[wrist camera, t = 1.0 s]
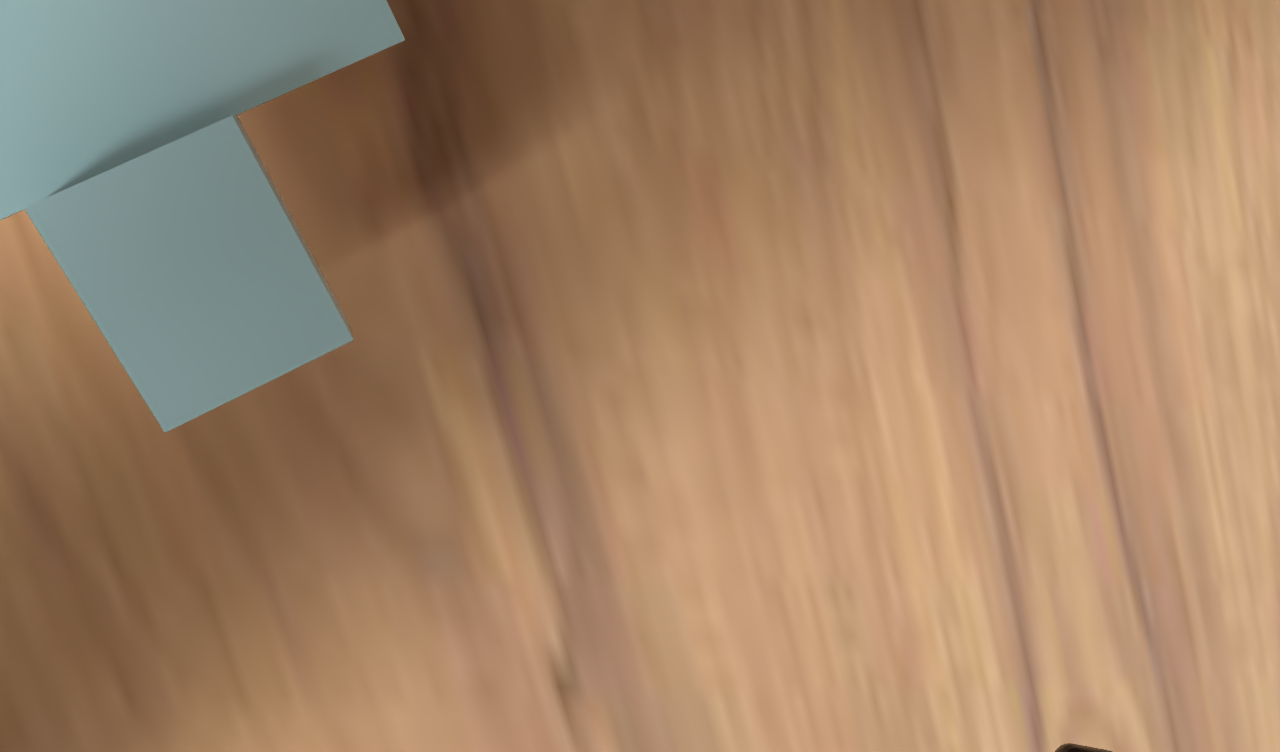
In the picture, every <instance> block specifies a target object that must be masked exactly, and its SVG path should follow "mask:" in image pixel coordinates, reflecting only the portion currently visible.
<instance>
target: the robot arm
mask: <svg viewBox="0 0 1280 752" xmlns="http://www.w3.org/2000/svg"><path fill="white" fill-rule="evenodd" d="M1055 752H1112V751H1108V750H1103V749H1098V748H1093V747H1087V746H1082V745H1077V744H1071V743H1070V744H1063V745H1061V746H1060V747H1059V748H1057V750H1056V751H1055Z"/></svg>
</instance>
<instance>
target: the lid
mask: <svg viewBox="0 0 1280 752" xmlns="http://www.w3.org/2000/svg"><path fill="white" fill-rule="evenodd" d="M404 40H405V38H404V36H403V34H402V32H401V30H400V28H399V26H398V23H397V21H396V19H395V17H394V15H393V13H392V11H391V9H390V7H389V5H388V2H387V0H0V220H2V219H4V218H7V217H9V216H11V215H13V214H16V213H18V212H20V211H22V210H25V211H26V212H27V214H28V216H29V217H30V219H31V220H32V222H33V224H34V225H35V227H36V228H37V230H38V232H39V233H40V235H41V236H42V238H43V240H44V241H45V243H46V244H47V246H48V248H49V249H50V251H51V252H52V254H53V256H54V257H55V259H56V260H57V262H58V263H59V265H60V267H61V268H62V270H63V271H64V273H65V275H66V276H67V278H68V279H69V281H70V283H71V284H72V286H73V287H74V289H75V291H76V292H77V294H78V295H79V297H80V299H81V300H82V302H83V303H84V305H85V307H86V308H87V310H88V311H89V313H90V315H91V316H92V318H93V319H94V321H95V322H96V324H97V326H98V327H99V329H100V330H101V332H102V334H103V335H104V337H105V338H106V340H107V342H108V343H109V345H110V346H111V348H112V350H113V351H114V353H115V354H116V356H117V358H118V359H119V361H120V362H121V364H122V366H123V367H124V369H125V370H126V372H127V373H128V375H129V377H130V378H131V380H132V381H133V383H134V385H135V386H136V388H137V389H138V391H139V393H140V394H141V396H142V397H143V399H144V401H145V402H146V404H147V405H148V407H149V409H150V410H151V412H152V413H153V415H154V417H155V418H156V420H157V421H158V423H159V425H160V426H161V428H162V429H163V431H164V432H165V433H166V432H168V431H170V430H172V429H174V428H176V427H178V426H180V425H182V424H184V423H186V422H188V421H190V420H192V419H194V418H196V417H198V416H200V415H202V414H204V413H206V412H209V411H211V410H213V409H215V408H217V407H219V406H221V405H223V404H225V403H227V402H229V401H231V400H233V399H235V398H237V397H239V396H241V395H243V394H245V393H247V392H249V391H251V390H253V389H255V388H257V387H259V386H261V385H263V384H265V383H267V382H269V381H271V380H273V379H276V378H278V377H280V376H282V375H284V374H286V373H288V372H290V371H292V370H294V369H296V368H298V367H300V366H302V365H304V364H306V363H308V362H310V361H312V360H314V359H316V358H318V357H320V356H322V355H324V354H326V353H328V352H330V351H332V350H334V349H336V348H338V347H340V346H343V345H345V344H347V343H349V342H351V341H353V337H352V333H351V330H350V327H349V324H348V321H347V318H346V316H345V315H344V313H343V311H342V309H341V307H340V305H339V303H338V302H337V300H336V298H335V296H334V294H333V292H332V290H331V289H330V287H329V285H328V283H327V281H326V279H325V278H324V276H323V274H322V272H321V270H320V268H319V266H318V265H317V263H316V261H315V259H314V257H313V255H312V253H311V252H310V250H309V248H308V246H307V244H306V242H305V240H304V239H303V237H302V235H301V233H300V231H299V229H298V228H297V226H296V224H295V222H294V220H293V218H292V216H291V215H290V213H289V211H288V209H287V207H286V205H285V203H284V202H283V200H282V198H281V196H280V194H279V192H278V190H277V189H276V187H275V185H274V183H273V181H272V179H271V177H270V176H269V174H268V172H267V170H266V168H265V166H264V165H263V163H262V161H261V159H260V157H259V155H258V153H257V152H256V150H255V148H254V146H253V144H252V142H251V140H250V139H249V137H248V135H247V133H246V131H245V129H244V127H243V126H242V124H241V122H240V120H239V118H238V116H237V115H239V114H241V113H243V112H245V111H248V110H250V109H252V108H254V107H257V106H259V105H261V104H263V103H266V102H268V101H270V100H272V99H275V98H277V97H279V96H281V95H284V94H286V93H288V92H290V91H293V90H295V89H297V88H299V87H302V86H304V85H306V84H308V83H311V82H313V81H315V80H317V79H320V78H322V77H324V76H326V75H329V74H331V73H333V72H335V71H338V70H340V69H342V68H344V67H347V66H349V65H351V64H353V63H356V62H358V61H360V60H362V59H365V58H367V57H369V56H371V55H374V54H376V53H378V52H380V51H383V50H385V49H387V48H389V47H392V46H394V45H396V44H398V43H401V42H403V41H404Z"/></svg>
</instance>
